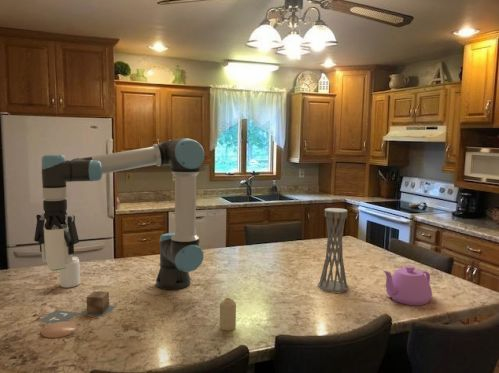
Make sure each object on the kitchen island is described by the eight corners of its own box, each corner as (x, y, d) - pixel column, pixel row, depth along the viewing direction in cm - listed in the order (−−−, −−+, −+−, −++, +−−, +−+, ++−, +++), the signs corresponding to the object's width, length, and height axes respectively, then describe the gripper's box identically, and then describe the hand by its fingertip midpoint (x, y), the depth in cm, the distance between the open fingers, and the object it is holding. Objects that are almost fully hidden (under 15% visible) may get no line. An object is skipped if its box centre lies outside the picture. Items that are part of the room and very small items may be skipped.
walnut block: (109, 306, 158) (108, 291, 157) (102, 313, 152) (102, 297, 151) (93, 306, 158) (93, 291, 158) (86, 312, 152) (86, 297, 152)
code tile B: (117, 307, 159) (117, 306, 159) (102, 317, 149) (102, 316, 149) (94, 304, 161) (94, 303, 161) (78, 314, 151) (78, 313, 151)
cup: (47, 272, 142) (45, 230, 140) (44, 267, 148) (43, 226, 146) (70, 269, 145) (68, 228, 144) (66, 264, 152) (65, 224, 150)
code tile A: (79, 313, 152) (79, 312, 152) (62, 325, 143) (62, 324, 143) (56, 311, 154) (56, 309, 154) (37, 322, 145) (37, 321, 145)
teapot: (413, 288, 185) (415, 258, 183) (445, 302, 168) (448, 270, 167) (368, 295, 175) (369, 263, 174) (397, 311, 159) (399, 276, 157)
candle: (219, 323, 145) (219, 296, 144) (235, 323, 145) (235, 296, 144) (219, 331, 140) (220, 302, 138) (236, 330, 140) (236, 302, 139)
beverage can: (72, 289, 176) (71, 261, 175) (55, 287, 178) (55, 260, 177) (83, 282, 184) (83, 256, 183) (67, 281, 186) (66, 255, 185)
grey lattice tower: (354, 287, 184) (357, 210, 180) (338, 295, 174) (341, 213, 171) (328, 280, 193) (330, 206, 190) (311, 287, 184) (314, 209, 180)
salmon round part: (84, 324, 142) (84, 323, 142) (63, 339, 132) (63, 337, 132) (56, 321, 145) (56, 319, 145) (33, 335, 134) (33, 333, 134)
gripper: (89, 199, 145) (90, 261, 148) (35, 196, 150) (38, 257, 152) (75, 202, 138) (77, 267, 140) (20, 199, 143) (23, 262, 145)
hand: (57, 262), depth 146 cm, fingers closed on cup, 9 cm apart
